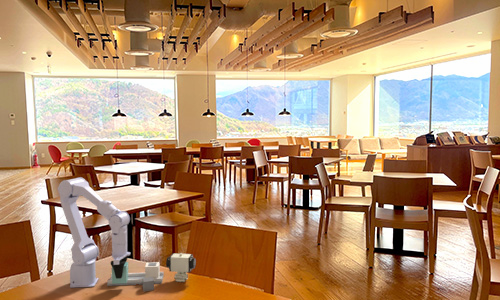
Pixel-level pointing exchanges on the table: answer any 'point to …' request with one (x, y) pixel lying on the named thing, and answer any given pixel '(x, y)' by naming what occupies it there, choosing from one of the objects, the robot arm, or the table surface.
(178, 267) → the pneumatic valve
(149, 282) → the dark loose block
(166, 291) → the table surface
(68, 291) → the table surface
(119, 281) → the block
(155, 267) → the board
